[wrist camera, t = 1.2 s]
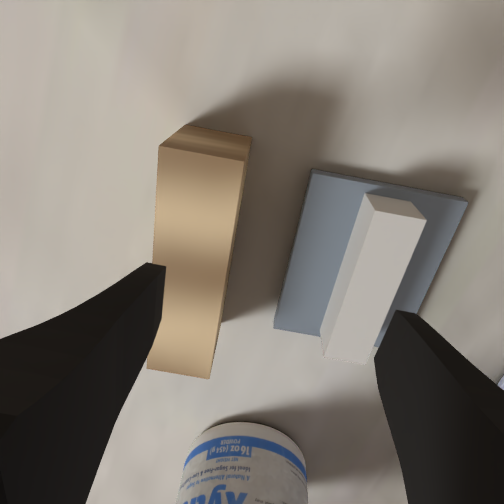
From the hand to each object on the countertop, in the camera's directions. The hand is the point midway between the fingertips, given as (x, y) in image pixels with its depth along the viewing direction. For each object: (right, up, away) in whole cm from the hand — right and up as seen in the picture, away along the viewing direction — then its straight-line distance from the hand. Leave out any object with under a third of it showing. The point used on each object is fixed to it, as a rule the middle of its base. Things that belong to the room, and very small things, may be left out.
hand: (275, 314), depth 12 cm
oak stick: (-3, +3, +10) cm, 11 cm away
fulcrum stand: (+5, +1, +10) cm, 12 cm away
